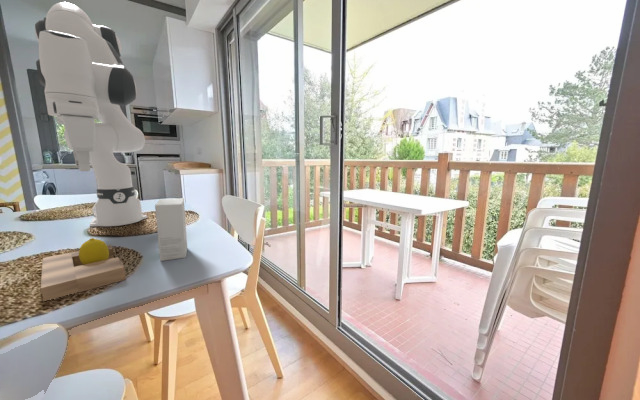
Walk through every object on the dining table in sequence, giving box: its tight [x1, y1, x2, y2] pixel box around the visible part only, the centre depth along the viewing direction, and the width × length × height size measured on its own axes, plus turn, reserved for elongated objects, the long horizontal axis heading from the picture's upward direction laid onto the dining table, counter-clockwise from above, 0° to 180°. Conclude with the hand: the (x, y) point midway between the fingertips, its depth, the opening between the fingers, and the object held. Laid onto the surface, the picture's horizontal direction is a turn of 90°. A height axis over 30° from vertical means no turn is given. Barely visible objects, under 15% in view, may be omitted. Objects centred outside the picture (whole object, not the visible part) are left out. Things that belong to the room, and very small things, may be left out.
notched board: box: [40, 244, 127, 302], centre depth 61 cm, size 20×13×3 cm, turn 46°
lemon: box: [78, 237, 109, 265], centre depth 63 cm, size 6×6×8 cm
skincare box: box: [154, 197, 188, 262], centre depth 72 cm, size 8×7×16 cm
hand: (83, 169), depth 63 cm, fingers open, 8 cm apart
